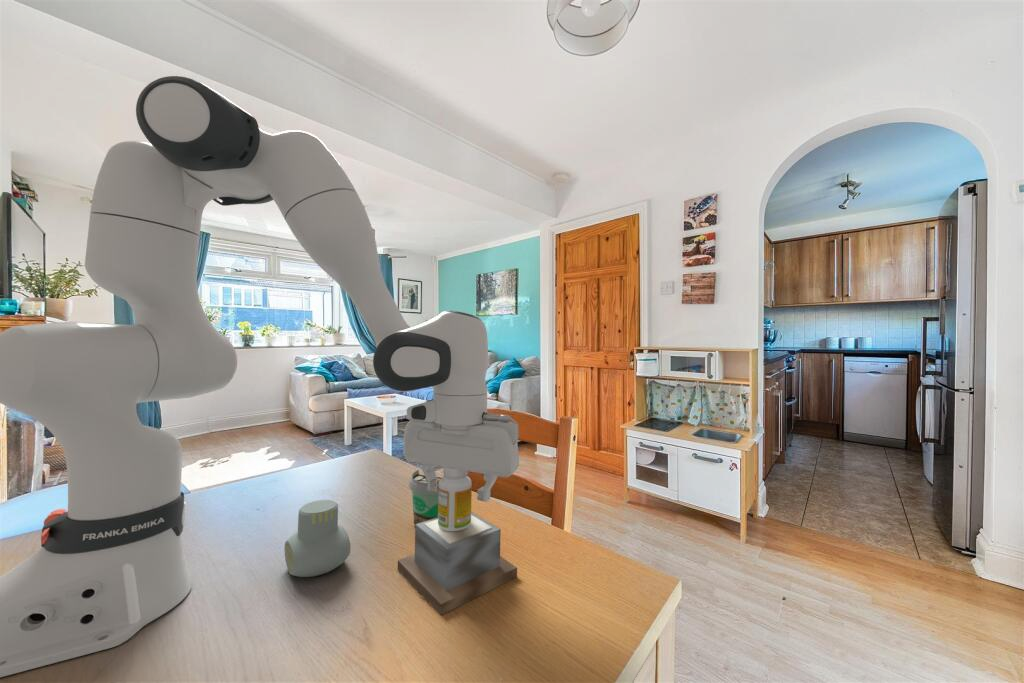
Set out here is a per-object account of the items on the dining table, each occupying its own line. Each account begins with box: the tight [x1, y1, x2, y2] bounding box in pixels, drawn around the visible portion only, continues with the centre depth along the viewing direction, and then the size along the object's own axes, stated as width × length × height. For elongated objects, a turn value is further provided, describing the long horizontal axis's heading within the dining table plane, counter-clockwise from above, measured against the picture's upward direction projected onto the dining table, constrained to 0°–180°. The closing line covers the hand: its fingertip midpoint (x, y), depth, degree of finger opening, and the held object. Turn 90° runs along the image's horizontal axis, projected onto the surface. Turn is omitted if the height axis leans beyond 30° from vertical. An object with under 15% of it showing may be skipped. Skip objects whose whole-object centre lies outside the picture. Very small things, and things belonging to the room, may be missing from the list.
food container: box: [408, 469, 443, 525], centre depth 77 cm, size 12×6×10 cm, turn 62°
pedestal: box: [397, 511, 518, 616], centre depth 62 cm, size 14×14×8 cm
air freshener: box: [284, 499, 351, 578], centre depth 63 cm, size 11×8×10 cm
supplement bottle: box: [438, 467, 473, 532], centre depth 62 cm, size 5×5×10 cm
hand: (458, 495), depth 62 cm, fingers open, 8 cm apart
